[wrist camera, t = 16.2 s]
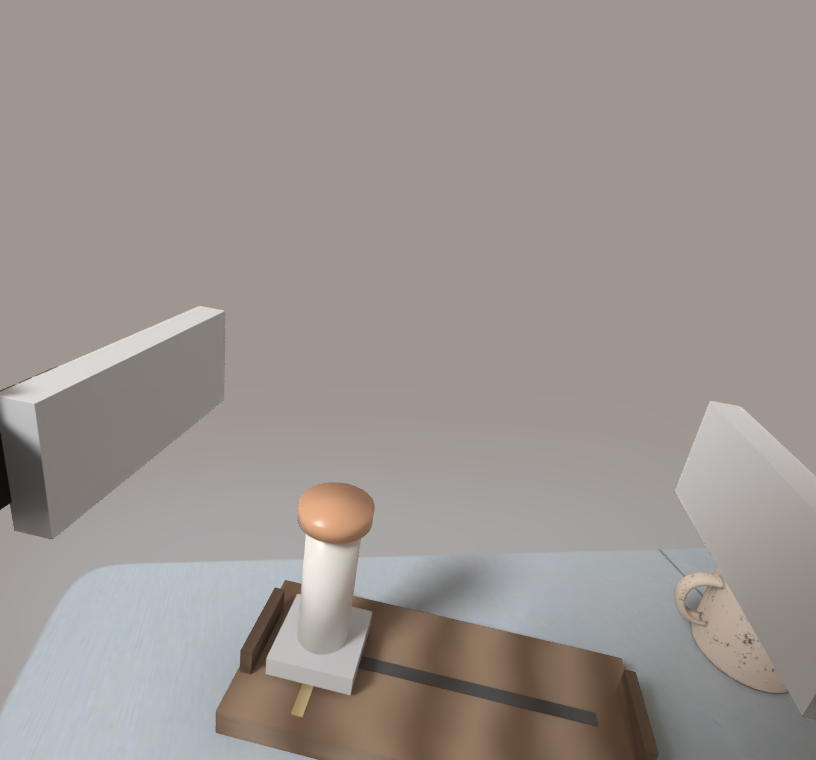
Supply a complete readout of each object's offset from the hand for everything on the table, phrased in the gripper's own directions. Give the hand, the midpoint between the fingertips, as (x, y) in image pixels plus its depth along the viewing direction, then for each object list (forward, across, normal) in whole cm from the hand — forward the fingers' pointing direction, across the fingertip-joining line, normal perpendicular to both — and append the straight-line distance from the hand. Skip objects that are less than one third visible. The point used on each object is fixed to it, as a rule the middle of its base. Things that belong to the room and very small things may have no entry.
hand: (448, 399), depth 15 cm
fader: (+15, -6, -28) cm, 32 cm away
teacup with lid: (+27, +28, -30) cm, 49 cm away
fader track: (+15, +3, -30) cm, 34 cm away
